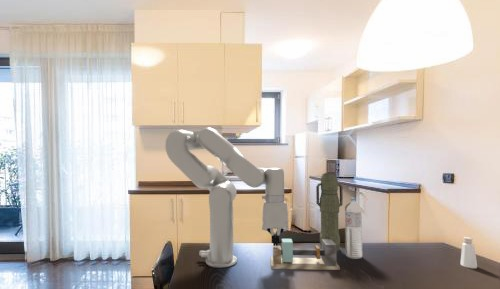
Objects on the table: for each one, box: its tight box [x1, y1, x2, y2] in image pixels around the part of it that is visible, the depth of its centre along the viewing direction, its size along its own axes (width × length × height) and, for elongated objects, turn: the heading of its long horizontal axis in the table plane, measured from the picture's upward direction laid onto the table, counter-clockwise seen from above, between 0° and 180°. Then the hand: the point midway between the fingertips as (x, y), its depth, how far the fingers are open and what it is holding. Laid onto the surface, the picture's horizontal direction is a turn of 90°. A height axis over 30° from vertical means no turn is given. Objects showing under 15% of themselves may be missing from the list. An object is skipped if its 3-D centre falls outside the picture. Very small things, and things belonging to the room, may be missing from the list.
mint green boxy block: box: [281, 238, 294, 262], centre depth 108 cm, size 4×5×8 cm
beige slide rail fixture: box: [269, 239, 341, 271], centre depth 108 cm, size 26×9×9 cm, turn 88°
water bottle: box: [344, 197, 363, 260], centre depth 117 cm, size 7×7×25 cm
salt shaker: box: [459, 236, 478, 269], centre depth 107 cm, size 5×5×11 cm
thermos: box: [315, 172, 344, 253], centre depth 126 cm, size 9×12×35 cm
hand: (275, 244), depth 108 cm, fingers closed
